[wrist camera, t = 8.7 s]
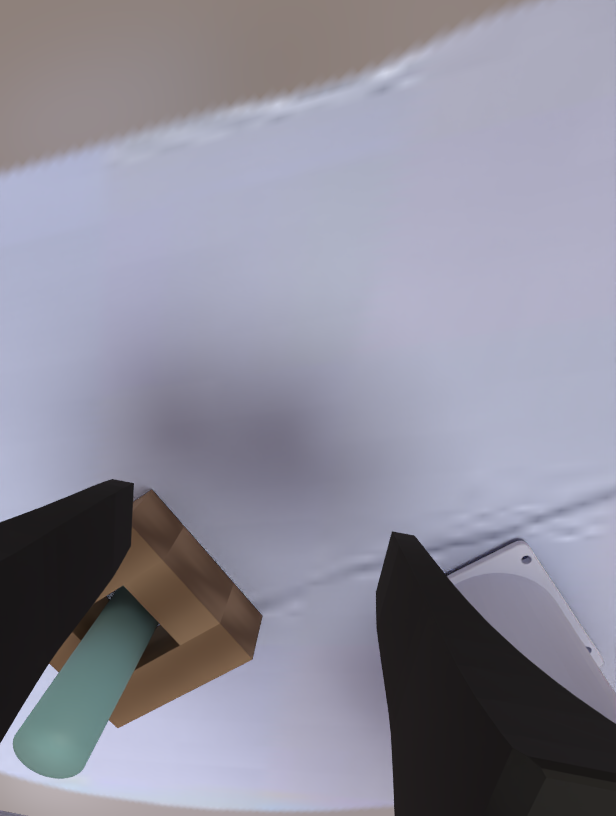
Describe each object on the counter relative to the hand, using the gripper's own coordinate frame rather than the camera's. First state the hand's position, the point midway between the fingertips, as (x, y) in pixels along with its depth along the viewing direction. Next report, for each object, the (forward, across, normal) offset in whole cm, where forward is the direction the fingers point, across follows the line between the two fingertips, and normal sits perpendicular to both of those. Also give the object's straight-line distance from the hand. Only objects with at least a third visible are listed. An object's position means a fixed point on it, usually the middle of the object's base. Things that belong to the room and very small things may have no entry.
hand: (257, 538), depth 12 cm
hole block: (+10, +7, +13) cm, 18 cm away
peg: (+10, +7, +13) cm, 18 cm away
